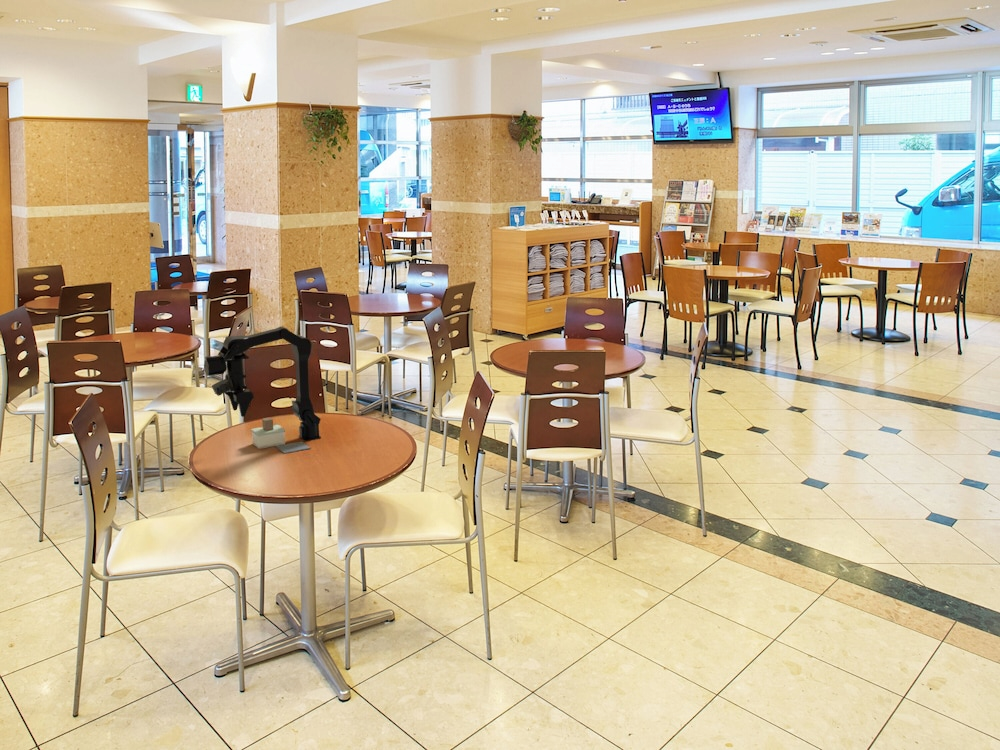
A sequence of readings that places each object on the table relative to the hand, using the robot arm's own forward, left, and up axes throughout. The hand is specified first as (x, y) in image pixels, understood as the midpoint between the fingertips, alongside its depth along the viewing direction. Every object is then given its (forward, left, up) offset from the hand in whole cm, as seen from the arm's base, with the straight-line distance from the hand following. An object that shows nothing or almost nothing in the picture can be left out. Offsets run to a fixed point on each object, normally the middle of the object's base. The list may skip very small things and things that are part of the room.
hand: (239, 413), depth 317 cm
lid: (-10, 0, -9) cm, 14 cm away
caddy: (-10, 0, -14) cm, 17 cm away
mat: (-16, +9, -14) cm, 23 cm away
